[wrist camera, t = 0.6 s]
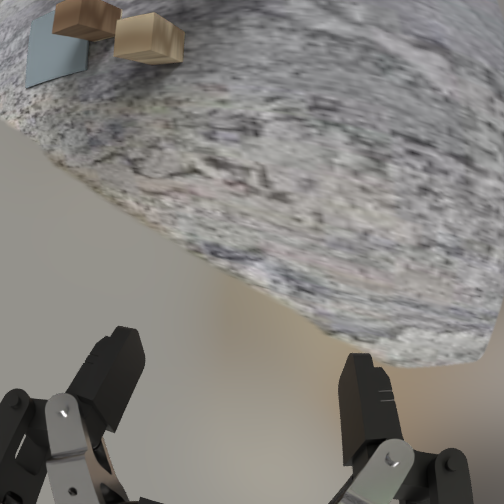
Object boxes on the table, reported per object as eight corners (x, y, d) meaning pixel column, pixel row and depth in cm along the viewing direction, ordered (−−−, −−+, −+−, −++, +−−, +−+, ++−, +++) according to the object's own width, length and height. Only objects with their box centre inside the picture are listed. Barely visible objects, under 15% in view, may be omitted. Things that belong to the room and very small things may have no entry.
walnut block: (97, 16, 25) (56, 4, 17) (122, 9, 25) (83, -7, 17) (94, 41, 27) (51, 33, 19) (119, 35, 27) (78, 23, 19)
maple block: (153, 36, 27) (116, 20, 19) (184, 32, 27) (154, 12, 19) (151, 65, 29) (113, 56, 21) (182, 62, 28) (150, 49, 20)
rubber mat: (33, 21, 24) (31, 21, 24) (95, -5, 23) (93, -6, 23) (27, 87, 30) (25, 88, 30) (86, 69, 29) (85, 69, 29)
